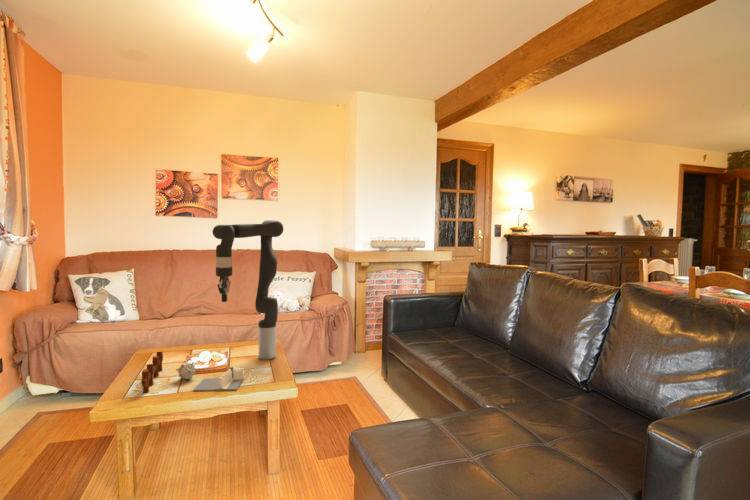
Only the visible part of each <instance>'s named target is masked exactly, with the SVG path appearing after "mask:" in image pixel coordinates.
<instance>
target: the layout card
mask: <svg viewBox="0 0 750 500" xmlns="http://www.w3.org/2000/svg"><path fill="white" fill-rule="evenodd" d="M244 381H245V378H244V379H234V377H233V378H232V379H231V380H230V381H229V382H228V383H227V384H226V385H225V386H224V387H223V388H219V377H217V378H216V377H215V378H214V377H213V378H212V377H211V378H209V377H208V378H203V379H202V380H201V381H200V382H199V383H198V384H197V385H196V386H195V387H194V388H193V389H192V392H220V391H221V392H222V391H223V392H228V391H233V392H235V391H238V389H239V388H240V386H241V385H242V384H243V382H244Z"/></svg>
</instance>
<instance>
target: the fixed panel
mask: <svg viewBox="0 0 750 500" xmlns="http://www.w3.org/2000/svg"><path fill="white" fill-rule="evenodd" d="M233 378H234V379H244V380H245V370H244V367H241V368H240V367H233Z"/></svg>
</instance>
